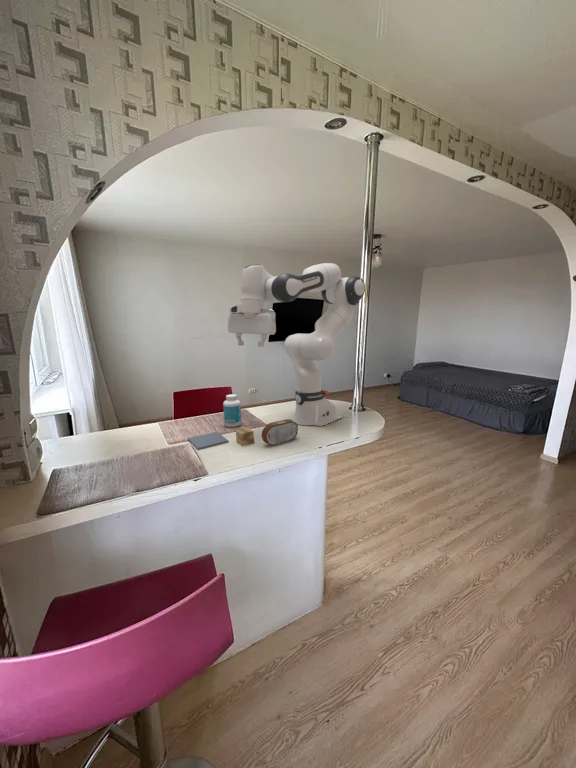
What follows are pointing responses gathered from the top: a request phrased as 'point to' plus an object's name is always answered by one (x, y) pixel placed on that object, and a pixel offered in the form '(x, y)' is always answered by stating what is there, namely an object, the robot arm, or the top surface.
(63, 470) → the top surface
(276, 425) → the tin
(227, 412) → the pill bottle
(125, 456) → the top surface
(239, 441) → the cube
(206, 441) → the mat
